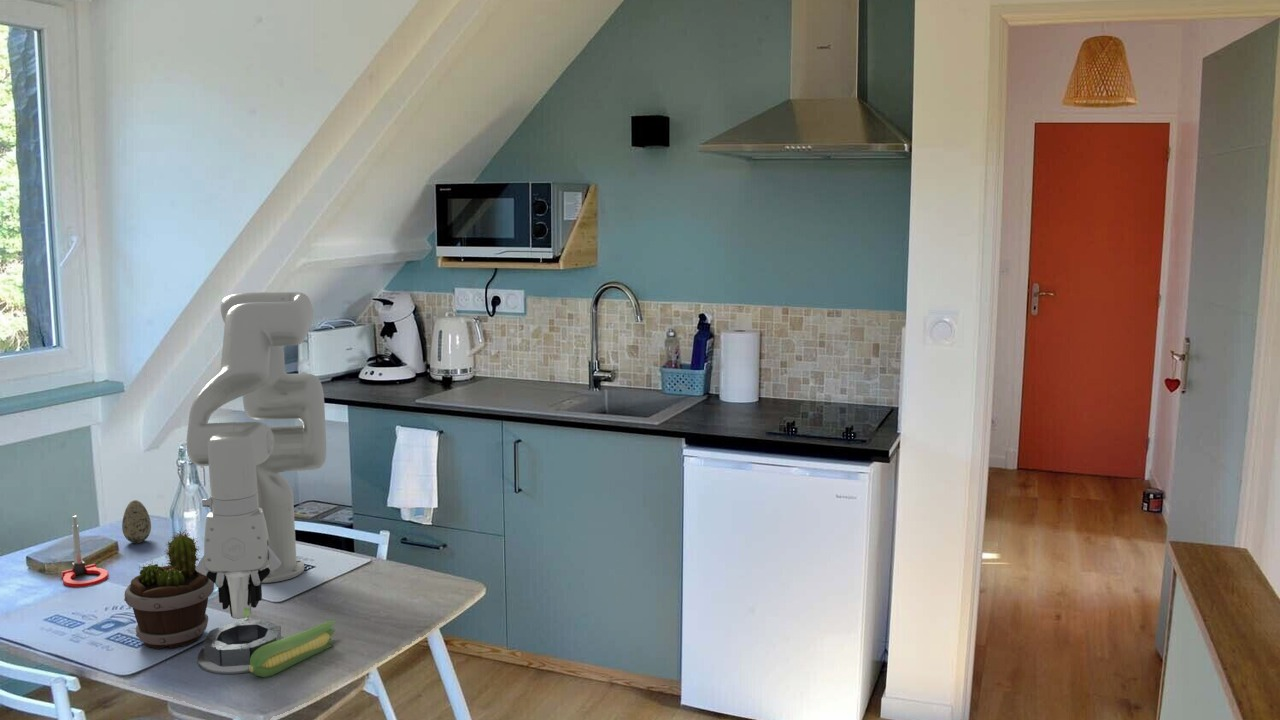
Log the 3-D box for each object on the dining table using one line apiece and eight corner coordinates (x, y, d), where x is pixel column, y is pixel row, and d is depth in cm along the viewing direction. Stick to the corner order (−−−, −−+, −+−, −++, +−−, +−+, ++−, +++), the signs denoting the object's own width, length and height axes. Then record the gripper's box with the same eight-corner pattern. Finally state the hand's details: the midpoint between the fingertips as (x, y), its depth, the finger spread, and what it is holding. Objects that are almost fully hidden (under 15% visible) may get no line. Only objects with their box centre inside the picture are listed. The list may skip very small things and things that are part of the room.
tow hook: (114, 581, 219) (99, 568, 226) (110, 523, 217) (94, 510, 223) (70, 592, 214) (56, 578, 220) (66, 532, 211) (51, 519, 217)
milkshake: (264, 612, 185) (261, 557, 183) (238, 622, 180) (235, 567, 179) (247, 606, 187) (245, 552, 186) (221, 616, 183) (218, 561, 181)
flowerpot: (166, 663, 182) (158, 552, 178) (110, 644, 189) (101, 537, 186) (235, 632, 194) (229, 528, 191) (180, 615, 202) (173, 515, 198)
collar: (209, 639, 191) (208, 619, 190) (295, 634, 193) (294, 614, 193) (187, 677, 177) (186, 655, 176) (281, 671, 179) (279, 650, 178)
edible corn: (237, 653, 176) (255, 652, 174) (330, 616, 193) (347, 614, 190) (244, 684, 176) (261, 683, 174) (336, 643, 193) (353, 642, 190)
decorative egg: (157, 538, 244) (154, 497, 243) (142, 547, 238) (139, 504, 237) (133, 537, 245) (130, 496, 243) (117, 546, 239) (114, 503, 237)
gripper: (177, 513, 176) (184, 617, 179) (282, 509, 178) (287, 611, 181) (189, 499, 183) (195, 599, 186) (289, 495, 185) (294, 594, 189)
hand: (241, 604), depth 184 cm, fingers closed on milkshake, 4 cm apart
